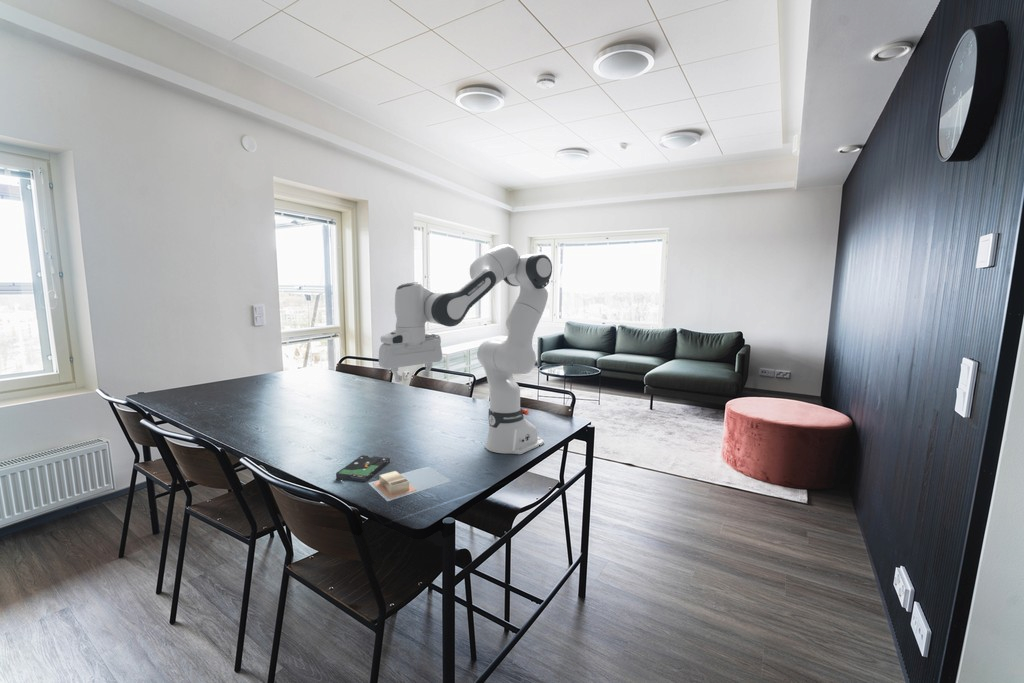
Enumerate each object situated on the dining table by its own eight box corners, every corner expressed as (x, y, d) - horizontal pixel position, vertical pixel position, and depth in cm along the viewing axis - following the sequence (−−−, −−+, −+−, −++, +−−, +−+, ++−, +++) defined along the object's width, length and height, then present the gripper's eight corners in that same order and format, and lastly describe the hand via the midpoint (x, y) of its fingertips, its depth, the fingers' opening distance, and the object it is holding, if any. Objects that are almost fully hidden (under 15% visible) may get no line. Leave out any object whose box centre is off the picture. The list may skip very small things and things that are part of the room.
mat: (429, 467, 138) (429, 465, 138) (451, 483, 127) (451, 480, 127) (367, 484, 125) (367, 482, 125) (387, 503, 115) (387, 500, 114)
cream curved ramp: (379, 483, 125) (379, 474, 125) (395, 478, 128) (395, 470, 128) (392, 494, 118) (392, 485, 118) (409, 489, 121) (409, 480, 121)
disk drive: (361, 463, 143) (335, 481, 128) (361, 455, 142) (335, 472, 128) (390, 465, 141) (367, 484, 126) (390, 457, 141) (367, 475, 126)
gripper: (435, 331, 141) (436, 372, 143) (375, 337, 129) (377, 382, 130) (445, 333, 137) (446, 375, 139) (383, 339, 124) (386, 386, 126)
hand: (412, 379), depth 134 cm, fingers open, 8 cm apart
